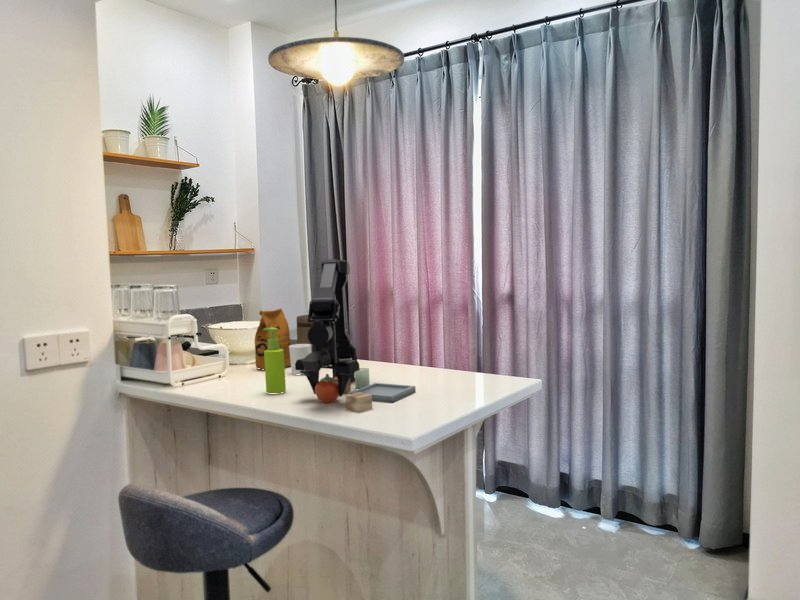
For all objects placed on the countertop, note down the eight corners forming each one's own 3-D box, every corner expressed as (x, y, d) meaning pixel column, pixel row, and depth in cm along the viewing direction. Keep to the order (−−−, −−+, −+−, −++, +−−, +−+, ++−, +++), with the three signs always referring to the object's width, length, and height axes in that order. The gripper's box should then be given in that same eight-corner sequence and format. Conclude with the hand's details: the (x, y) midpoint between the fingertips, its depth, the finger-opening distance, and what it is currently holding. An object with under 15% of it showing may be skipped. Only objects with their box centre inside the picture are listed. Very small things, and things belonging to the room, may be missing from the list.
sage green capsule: (352, 389, 195) (351, 370, 194) (360, 386, 199) (359, 367, 198) (364, 390, 193) (364, 371, 192) (372, 387, 197) (371, 368, 196)
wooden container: (343, 362, 243) (340, 305, 241) (309, 367, 235) (306, 308, 233) (325, 357, 255) (322, 303, 254) (291, 362, 247) (288, 306, 245)
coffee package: (251, 369, 235) (248, 310, 233) (277, 364, 244) (274, 307, 243) (269, 372, 228) (266, 311, 227) (295, 366, 238) (292, 308, 237)
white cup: (317, 372, 225) (315, 344, 224) (302, 376, 218) (301, 347, 218) (300, 370, 229) (299, 343, 228) (285, 374, 223) (284, 346, 222)
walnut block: (332, 394, 189) (331, 379, 189) (336, 391, 194) (335, 376, 193) (347, 394, 189) (346, 379, 188) (350, 391, 193) (350, 376, 193)
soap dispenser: (277, 389, 199) (273, 326, 198) (289, 392, 195) (286, 327, 193) (260, 392, 195) (257, 328, 194) (273, 395, 190) (269, 329, 189)
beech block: (346, 410, 170) (345, 395, 170) (360, 406, 174) (359, 392, 174) (358, 413, 167) (357, 398, 166) (372, 409, 170) (371, 394, 170)
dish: (350, 398, 183) (349, 392, 182) (375, 388, 195) (375, 382, 195) (392, 402, 176) (391, 396, 176) (415, 392, 188) (415, 386, 188)
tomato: (343, 403, 178) (342, 375, 177) (317, 405, 176) (316, 377, 175) (338, 397, 185) (337, 370, 184) (313, 400, 183) (312, 372, 182)
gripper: (281, 343, 176) (284, 398, 178) (336, 346, 167) (339, 404, 168) (305, 338, 186) (308, 390, 187) (359, 340, 177) (361, 395, 178)
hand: (328, 395), depth 180 cm, fingers open, 8 cm apart
